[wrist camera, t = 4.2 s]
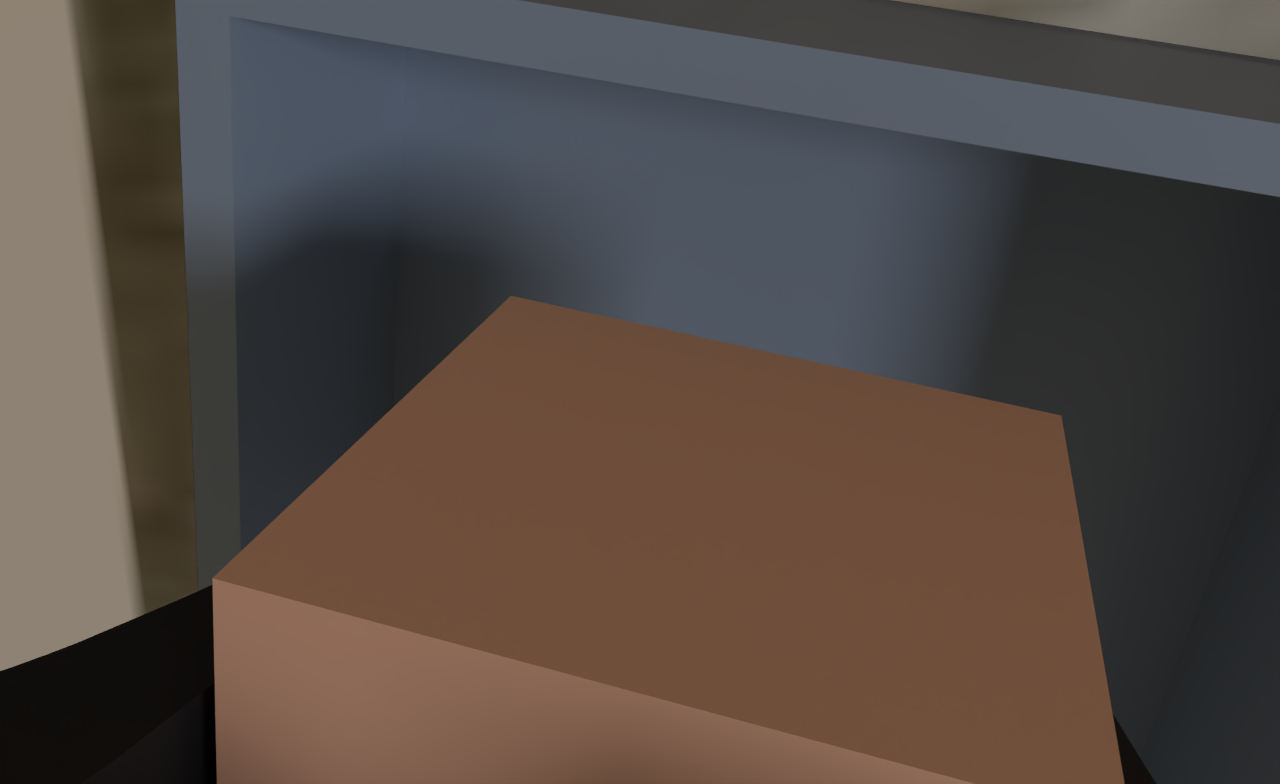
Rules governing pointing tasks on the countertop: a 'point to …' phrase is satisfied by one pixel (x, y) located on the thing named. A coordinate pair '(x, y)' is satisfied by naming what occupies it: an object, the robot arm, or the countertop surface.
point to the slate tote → (774, 259)
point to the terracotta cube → (668, 580)
